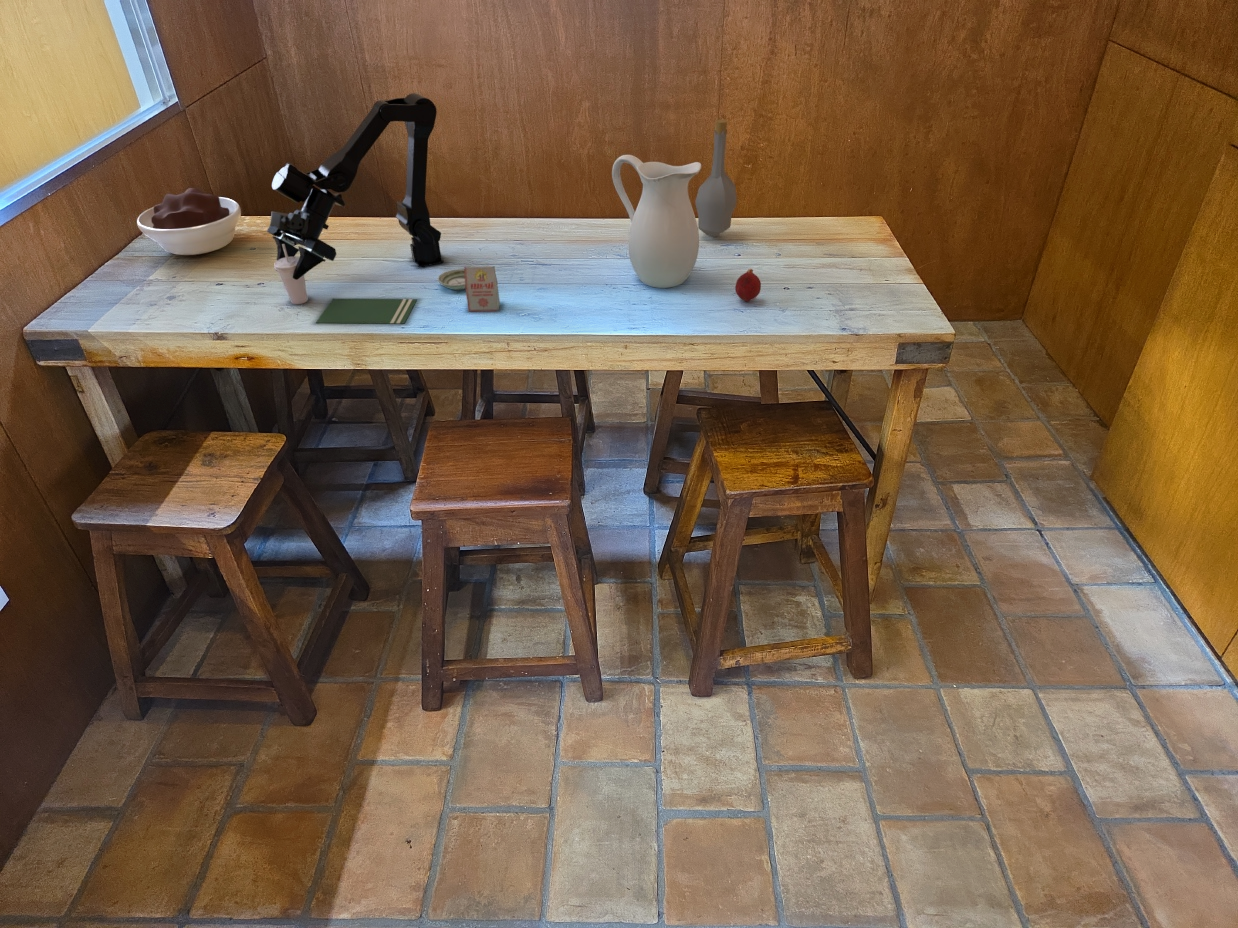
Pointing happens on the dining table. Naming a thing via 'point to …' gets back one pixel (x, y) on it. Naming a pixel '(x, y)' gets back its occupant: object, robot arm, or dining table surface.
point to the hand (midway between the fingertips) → (286, 275)
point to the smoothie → (291, 278)
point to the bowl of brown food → (191, 222)
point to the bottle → (716, 190)
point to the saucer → (453, 279)
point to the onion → (748, 286)
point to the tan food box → (481, 288)
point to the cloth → (367, 311)
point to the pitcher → (661, 222)
